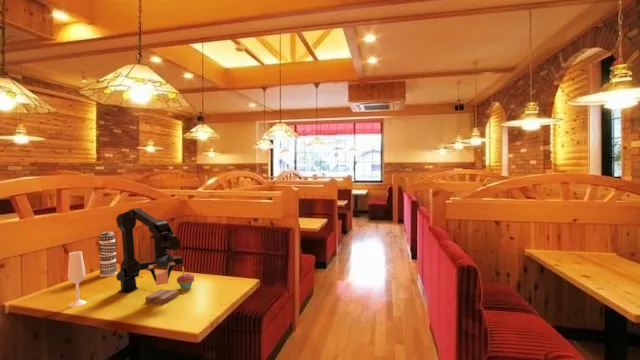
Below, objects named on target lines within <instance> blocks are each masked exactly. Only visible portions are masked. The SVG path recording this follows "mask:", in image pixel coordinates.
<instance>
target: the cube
mask: <svg viewBox="0 0 640 360" xmlns="http://www.w3.org/2000/svg"><path fill="white" fill-rule="evenodd" d="M155 276H156V282H155V285H156V286H161V285H166V284H169V279H168V272H167V269H165V270H159V271H155Z"/></svg>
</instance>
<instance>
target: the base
mask: <svg viewBox="0 0 640 360" xmlns="http://www.w3.org/2000/svg"><path fill="white" fill-rule="evenodd" d="M177 297H179V290H173V289H163V288H161V289H158V290H156V291H155V292H154V291H153V292H152V293H151V294H148V295H147V296H145V303H150V304H159V305H165V304H167V303H168V302H170V301H172V300H174V299H176V298H177Z"/></svg>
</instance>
